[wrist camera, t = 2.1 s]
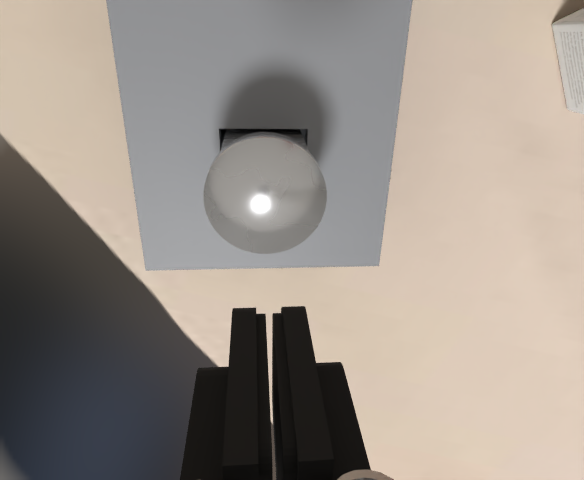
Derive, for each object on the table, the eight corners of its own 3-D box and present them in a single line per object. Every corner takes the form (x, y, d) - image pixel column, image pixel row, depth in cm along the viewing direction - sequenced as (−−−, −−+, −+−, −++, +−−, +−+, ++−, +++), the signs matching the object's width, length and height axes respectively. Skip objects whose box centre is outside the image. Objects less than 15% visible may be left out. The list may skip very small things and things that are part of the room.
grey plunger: (313, 112, 24) (330, 138, 19) (309, 205, 27) (323, 252, 21) (211, 111, 24) (198, 137, 18) (217, 206, 26) (207, 255, 21)
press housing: (412, -337, 20) (471, -472, 14) (358, 225, 32) (378, 265, 27) (94, -366, 19) (29, -524, 13) (164, 228, 31) (145, 270, 26)
